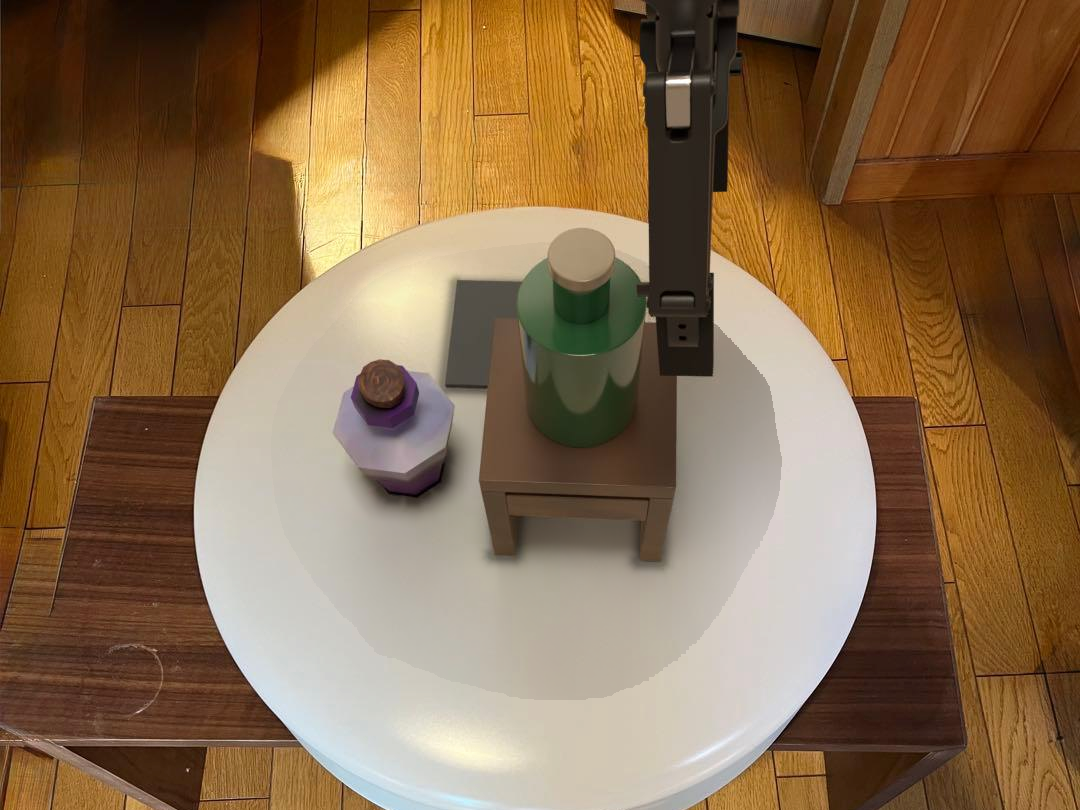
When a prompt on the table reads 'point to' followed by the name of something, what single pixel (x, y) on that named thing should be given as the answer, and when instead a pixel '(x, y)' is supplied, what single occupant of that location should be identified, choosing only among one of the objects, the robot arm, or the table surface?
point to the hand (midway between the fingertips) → (695, 274)
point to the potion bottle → (396, 427)
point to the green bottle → (581, 340)
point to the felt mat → (477, 329)
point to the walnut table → (577, 455)
